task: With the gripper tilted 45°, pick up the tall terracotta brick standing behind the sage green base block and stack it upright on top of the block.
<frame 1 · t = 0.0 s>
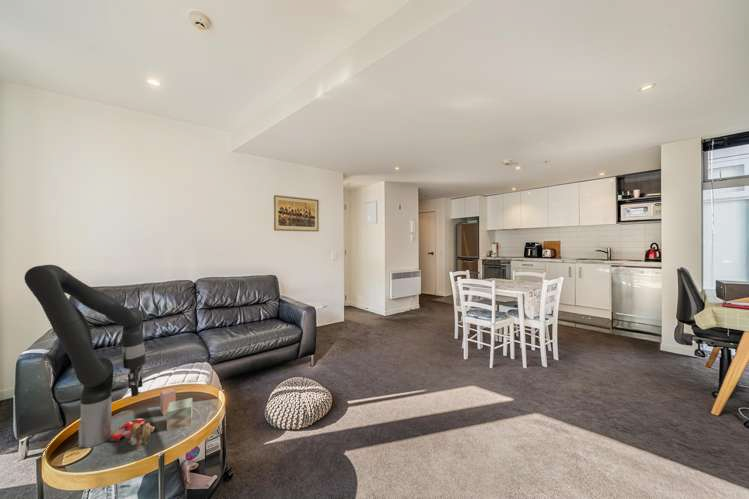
hand: (137, 391, 128), 17 cm above the table, tool pointing down, fingers open, 8 cm apart
sage green base block: (180, 421, 135), on the table
race car: (128, 433, 127), on the table
terracotta brick: (167, 411, 143), on the table
lion figurine: (140, 442, 120), on the table
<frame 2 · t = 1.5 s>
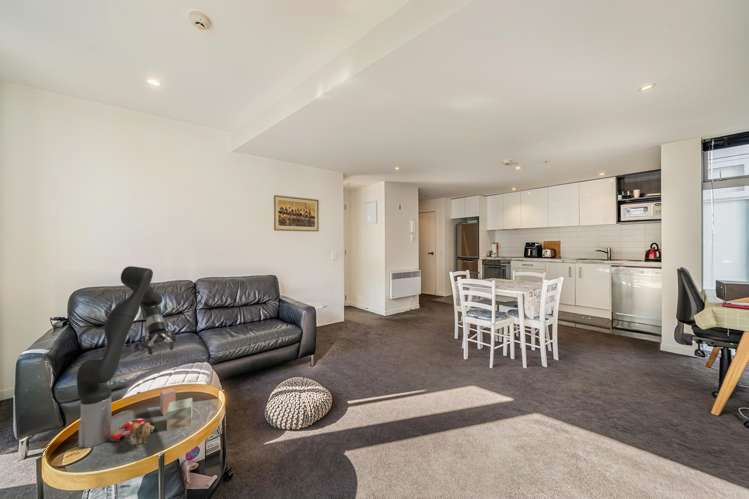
hand: (161, 351, 150), 26 cm above the table, tool tilted 45°, fingers open, 8 cm apart
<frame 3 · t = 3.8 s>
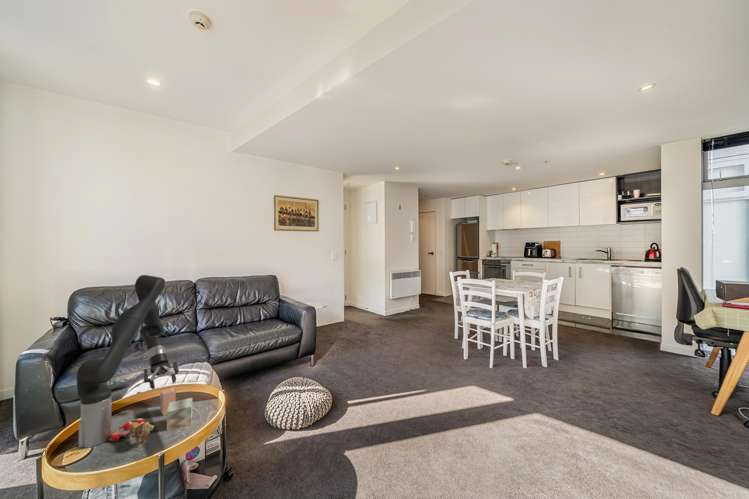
hand: (164, 385, 147), 11 cm above the table, tool tilted 45°, fingers open, 8 cm apart
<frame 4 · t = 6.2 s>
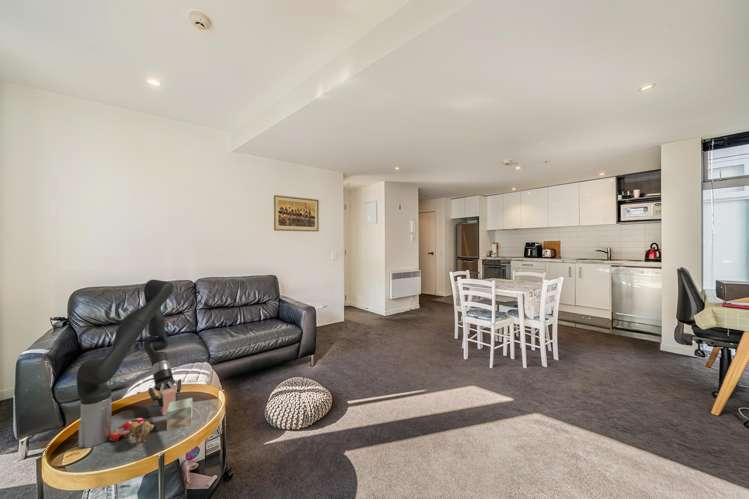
hand: (169, 404, 142), 4 cm above the table, tool tilted 45°, fingers closed on terracotta brick, 5 cm apart
terracotta brick: (168, 411, 143), on the table, touching gripper
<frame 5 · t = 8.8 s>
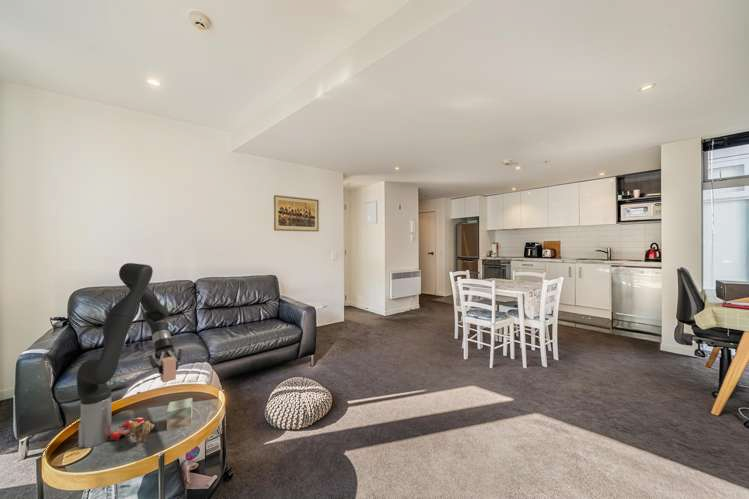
hand: (169, 371, 141), 20 cm above the table, tool tilted 45°, fingers closed on terracotta brick, 5 cm apart
terracotta brick: (168, 379, 143), point 16 cm above the table, touching gripper
when the fingers open (14 cm above the table, at t = 11.5 s): terracotta brick drops 1 cm, resting on sage green base block.
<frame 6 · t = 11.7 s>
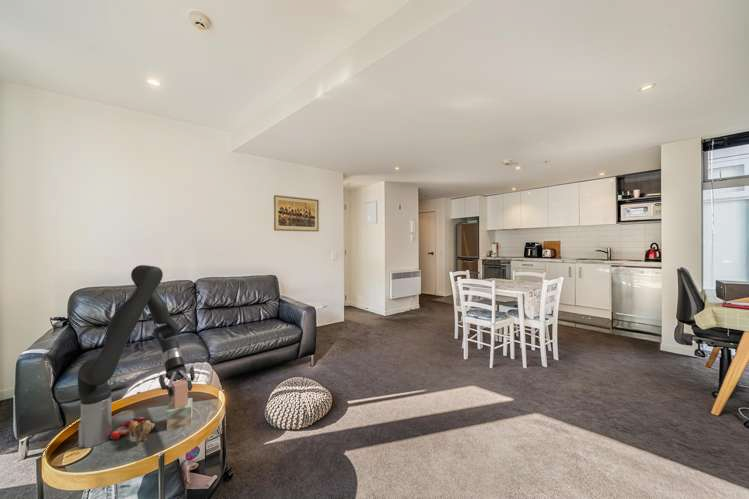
hand: (181, 392, 133), 14 cm above the table, tool tilted 45°, fingers open, 6 cm apart
terracotta brick: (179, 404, 134), point 8 cm above the table, touching sage green base block
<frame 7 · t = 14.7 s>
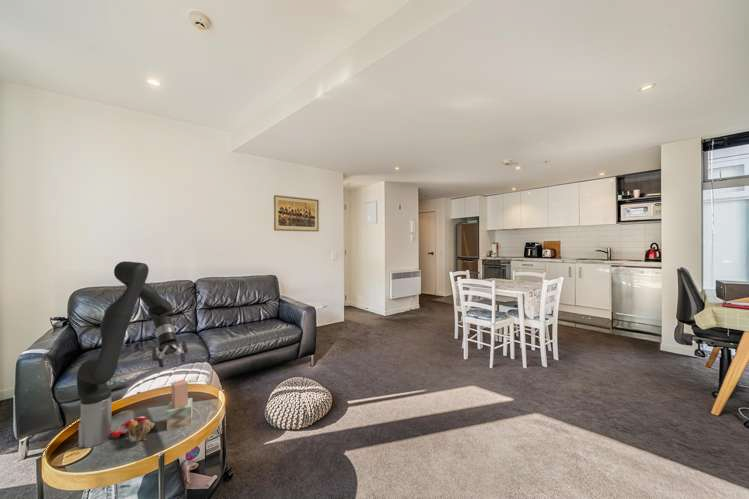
hand: (173, 364, 141), 24 cm above the table, tool tilted 45°, fingers open, 8 cm apart
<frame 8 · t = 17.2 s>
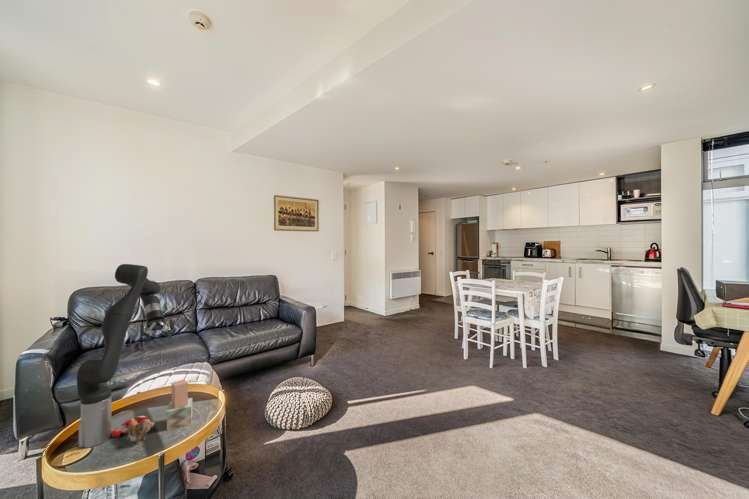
hand: (160, 339, 150), 33 cm above the table, tool tilted 45°, fingers open, 8 cm apart
at the end: terracotta brick 0.2 cm off-centre on the sage green base block, point 8.0 cm above the sage green base block's base; terracotta brick tilted 0°; the gripper is holding nothing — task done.
